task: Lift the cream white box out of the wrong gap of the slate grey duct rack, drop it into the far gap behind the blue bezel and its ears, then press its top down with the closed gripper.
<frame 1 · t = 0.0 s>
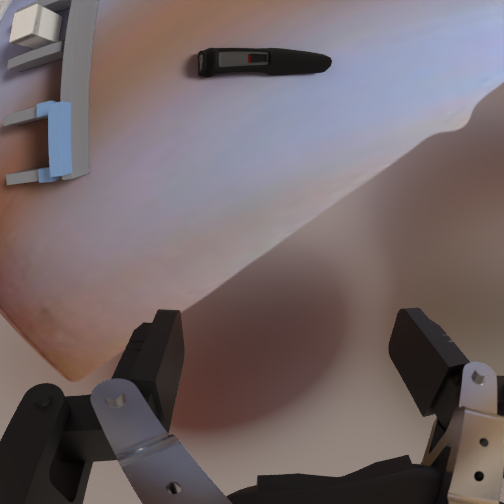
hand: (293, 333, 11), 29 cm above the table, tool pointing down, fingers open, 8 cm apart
duct rack: (43, 85, 31), on the table
electric trimmer: (260, 61, 33), on the table
cream white box: (49, 33, 28), resting in duct rack
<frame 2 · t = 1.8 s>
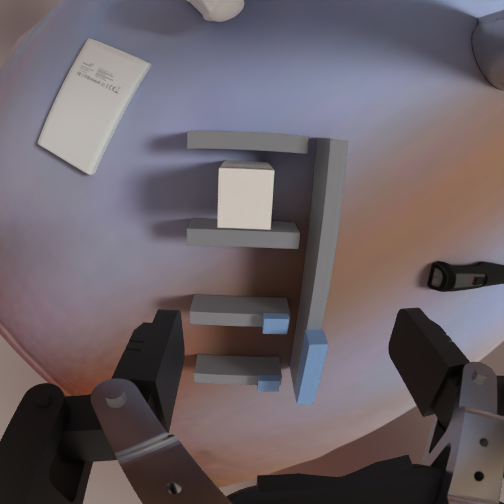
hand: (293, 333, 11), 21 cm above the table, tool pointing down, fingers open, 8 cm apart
duct rack: (241, 266, 32), on the table
electric trimmer: (469, 270, 34), on the table
cream white box: (245, 184, 29), resting in duct rack
external hard drive: (93, 104, 26), on the table
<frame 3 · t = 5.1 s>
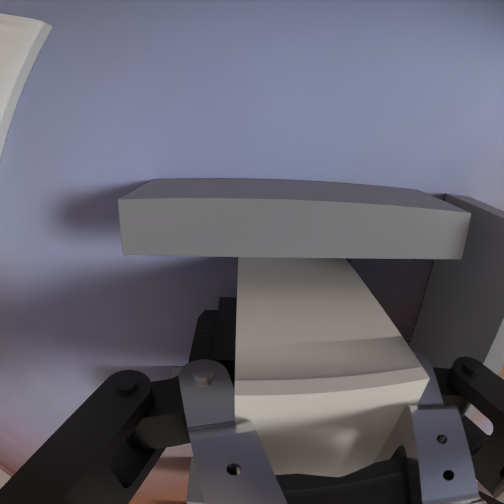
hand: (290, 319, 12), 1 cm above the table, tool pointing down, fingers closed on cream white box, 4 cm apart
duct rack: (272, 430, 16), on the table
cream white box: (287, 305, 13), resting in duct rack, touching gripper
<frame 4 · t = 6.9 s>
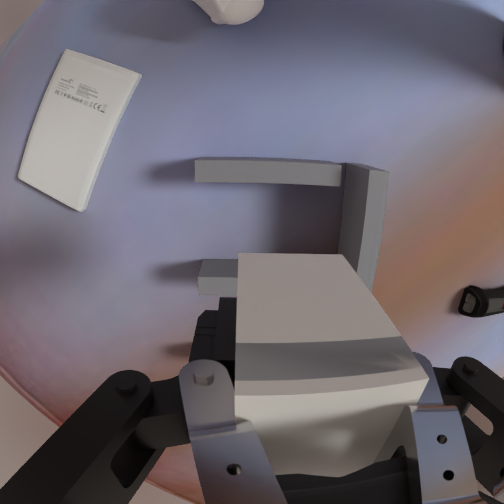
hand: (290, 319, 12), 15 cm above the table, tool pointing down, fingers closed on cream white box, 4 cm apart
duct rack: (260, 310, 28), on the table
electric trimmer: (497, 292, 30), on the table
cream white box: (287, 305, 13), point 14 cm above the table, touching gripper
external hard drive: (77, 127, 22), on the table
when the fingers open (2 cm above the table, at t = 11.4 s): cream white box drops 1 cm, resting in duct rack.
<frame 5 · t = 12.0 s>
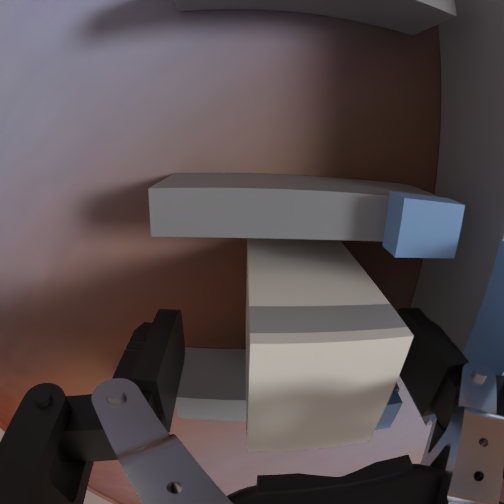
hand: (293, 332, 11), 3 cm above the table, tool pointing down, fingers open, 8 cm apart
duct rack: (303, 89, 11), on the table
cream white box: (291, 287, 14), resting in duct rack
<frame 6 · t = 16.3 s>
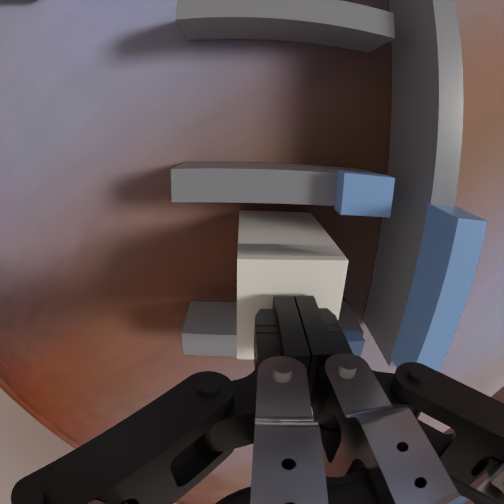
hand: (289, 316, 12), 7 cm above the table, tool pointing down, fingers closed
duct rack: (280, 99, 15), on the table
cream white box: (273, 248, 18), resting in duct rack, touching gripper
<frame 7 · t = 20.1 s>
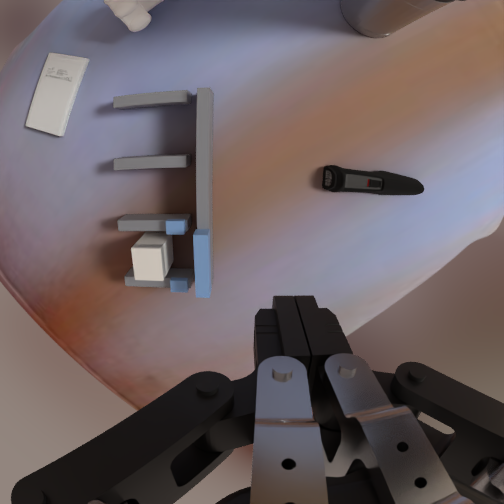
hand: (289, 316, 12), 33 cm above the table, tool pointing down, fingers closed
duct rack: (156, 189, 42), on the table
electric trimmer: (369, 179, 43), on the table
cream white box: (159, 246, 46), resting in duct rack
external hard drive: (58, 93, 37), on the table
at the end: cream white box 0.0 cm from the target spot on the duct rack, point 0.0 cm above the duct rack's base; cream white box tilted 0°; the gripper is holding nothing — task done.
